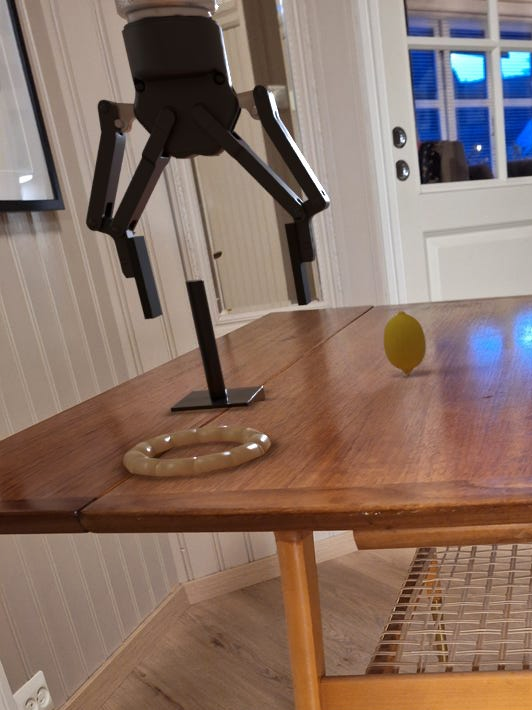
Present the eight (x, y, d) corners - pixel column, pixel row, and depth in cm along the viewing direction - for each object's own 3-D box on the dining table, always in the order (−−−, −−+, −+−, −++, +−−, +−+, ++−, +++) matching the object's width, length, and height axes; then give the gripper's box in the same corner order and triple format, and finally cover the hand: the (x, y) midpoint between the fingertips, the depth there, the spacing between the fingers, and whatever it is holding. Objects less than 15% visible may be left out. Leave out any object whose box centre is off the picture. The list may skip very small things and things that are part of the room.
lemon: (429, 368, 118) (423, 306, 115) (427, 377, 113) (421, 312, 110) (389, 371, 119) (382, 309, 115) (385, 380, 114) (377, 315, 110)
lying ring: (107, 491, 78) (100, 467, 77) (154, 450, 90) (148, 429, 89) (255, 481, 78) (250, 457, 77) (282, 441, 89) (278, 419, 88)
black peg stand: (173, 420, 101) (142, 287, 94) (194, 403, 109) (167, 279, 102) (249, 415, 101) (224, 281, 94) (265, 398, 109) (242, 273, 102)
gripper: (336, 13, 70) (372, 293, 80) (33, 42, 71) (106, 316, 81) (322, -4, 64) (364, 303, 73) (-12, 28, 64) (74, 328, 74)
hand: (229, 310), depth 77 cm, fingers open, 13 cm apart
